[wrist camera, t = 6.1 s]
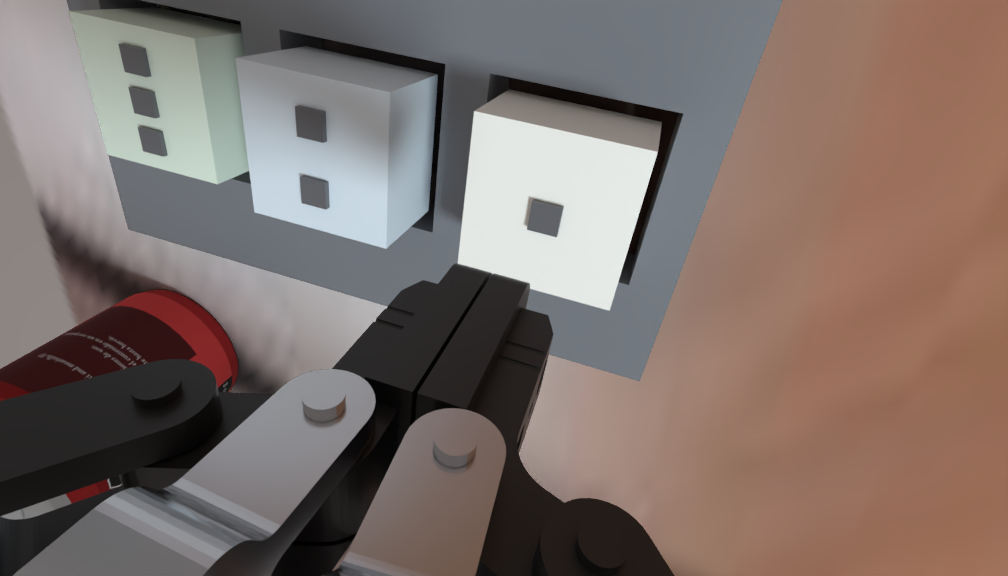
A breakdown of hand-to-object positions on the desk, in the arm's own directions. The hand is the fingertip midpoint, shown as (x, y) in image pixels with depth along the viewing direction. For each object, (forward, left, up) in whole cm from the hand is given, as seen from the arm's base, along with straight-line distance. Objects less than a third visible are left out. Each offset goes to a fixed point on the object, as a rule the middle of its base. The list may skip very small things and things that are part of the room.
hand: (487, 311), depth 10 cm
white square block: (0, 0, -9) cm, 9 cm away
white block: (+15, 0, -10) cm, 18 cm away
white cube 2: (+7, 0, -9) cm, 12 cm away
